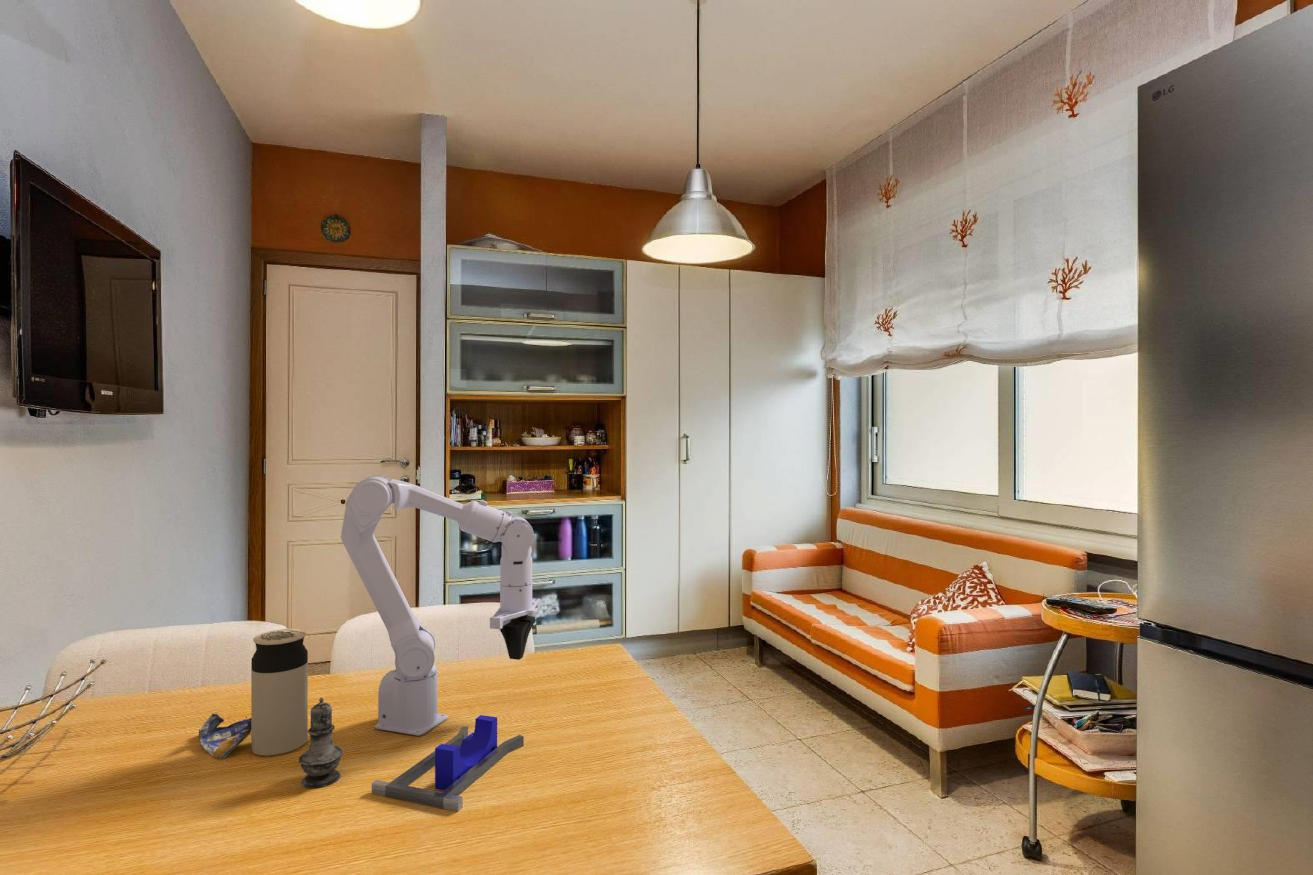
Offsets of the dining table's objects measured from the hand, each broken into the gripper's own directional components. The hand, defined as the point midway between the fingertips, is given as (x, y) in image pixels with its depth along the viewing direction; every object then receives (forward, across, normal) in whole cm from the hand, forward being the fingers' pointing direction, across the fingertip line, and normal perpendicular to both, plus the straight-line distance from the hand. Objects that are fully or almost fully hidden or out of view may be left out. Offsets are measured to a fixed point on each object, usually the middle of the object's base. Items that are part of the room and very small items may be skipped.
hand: (516, 658), depth 122 cm
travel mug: (+10, -24, +30) cm, 39 cm away
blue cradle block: (+10, -21, -3) cm, 24 cm away
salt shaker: (+10, -30, +15) cm, 35 cm away
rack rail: (+10, -21, -2) cm, 23 cm away
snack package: (+10, -25, +39) cm, 48 cm away
